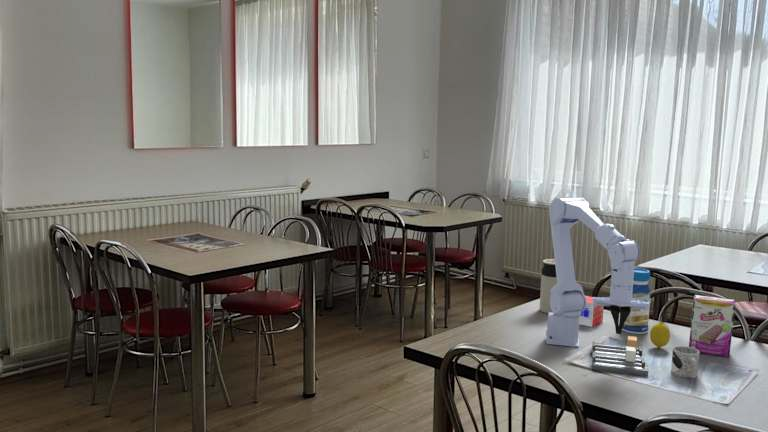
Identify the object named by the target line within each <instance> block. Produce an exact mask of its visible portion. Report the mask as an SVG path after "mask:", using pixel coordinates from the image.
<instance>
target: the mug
mask: <svg viewBox="0 0 768 432" xmlns="http://www.w3.org/2000/svg"><path fill="white" fill-rule="evenodd" d="M671 354H672V355H671V367H670V373H671V374H672V375H673V376H676V377H678V378H684V379H696V378H697V377H698V376H699V375H698V373H699V365H700V354H701V353H700V351H699V350H697V349H695V348H691V347H689V346H684V345H677V346H673V348H672V353H671Z"/></svg>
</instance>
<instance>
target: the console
mask: <svg viewBox="0 0 768 432" xmlns="http://www.w3.org/2000/svg"><path fill="white" fill-rule="evenodd" d="M591 343H592V345H591V348H592V355H591V356H592V359H591V360H592V369H593V371H596V372H597V371H598V372H605V373H615V374H625V375H630V376H631V375H632V376H639V377H649V367H648V362H647V358H646V355H645V351H644V347H642V346H637V351H636V357H635V362H634V363H632V362H626V359H625V352H626V346H627V345H618V344H610V343H600V342H595V341H592V342H591Z"/></svg>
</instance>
